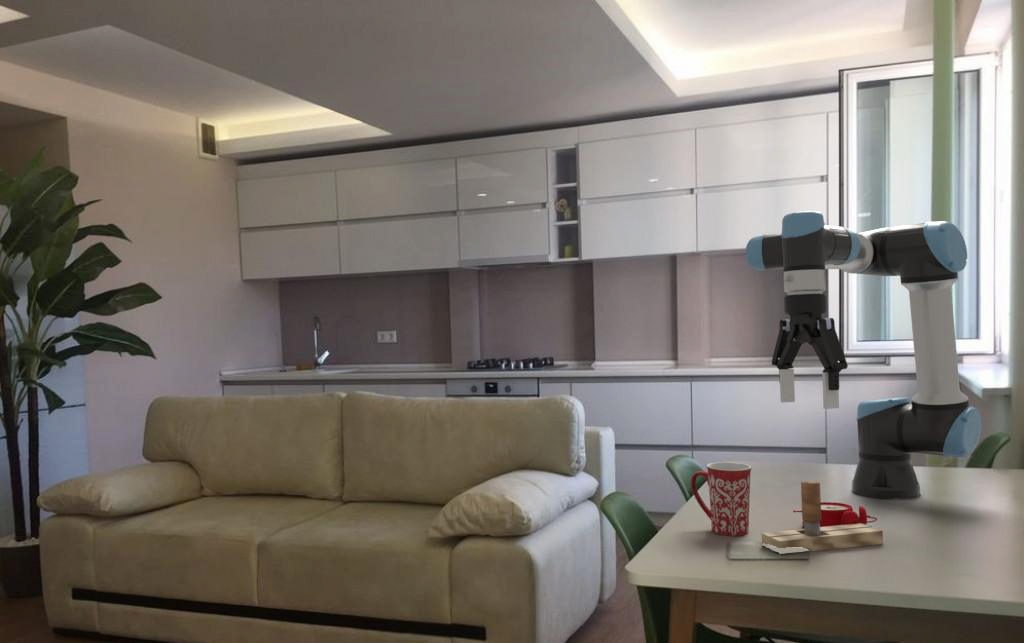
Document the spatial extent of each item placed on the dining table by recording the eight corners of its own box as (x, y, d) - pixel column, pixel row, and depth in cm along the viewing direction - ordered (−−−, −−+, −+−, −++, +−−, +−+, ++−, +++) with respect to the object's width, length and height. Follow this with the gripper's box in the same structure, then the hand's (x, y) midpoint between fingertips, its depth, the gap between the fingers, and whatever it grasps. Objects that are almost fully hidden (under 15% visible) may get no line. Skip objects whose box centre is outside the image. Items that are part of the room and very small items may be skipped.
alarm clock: (809, 501, 168) (878, 491, 158) (817, 530, 166) (887, 522, 156) (787, 509, 160) (857, 498, 150) (795, 539, 159) (867, 531, 149)
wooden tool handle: (814, 542, 149) (812, 480, 149) (826, 547, 146) (823, 483, 146) (799, 544, 148) (797, 481, 148) (810, 549, 145) (808, 485, 145)
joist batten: (861, 535, 153) (861, 522, 153) (883, 543, 147) (882, 530, 147) (762, 546, 147) (761, 532, 147) (780, 554, 142) (779, 540, 142)
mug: (760, 529, 160) (758, 464, 160) (744, 539, 152) (741, 471, 153) (702, 521, 167) (700, 459, 167) (684, 530, 160) (682, 465, 160)
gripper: (752, 297, 158) (755, 400, 158) (829, 290, 134) (833, 412, 134) (784, 296, 160) (787, 398, 160) (866, 289, 136) (870, 410, 136)
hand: (808, 405), depth 147 cm, fingers open, 13 cm apart
